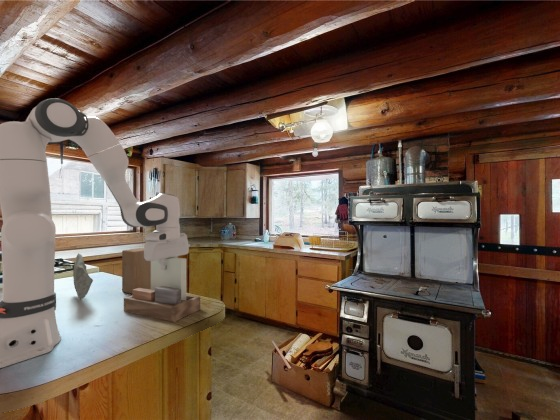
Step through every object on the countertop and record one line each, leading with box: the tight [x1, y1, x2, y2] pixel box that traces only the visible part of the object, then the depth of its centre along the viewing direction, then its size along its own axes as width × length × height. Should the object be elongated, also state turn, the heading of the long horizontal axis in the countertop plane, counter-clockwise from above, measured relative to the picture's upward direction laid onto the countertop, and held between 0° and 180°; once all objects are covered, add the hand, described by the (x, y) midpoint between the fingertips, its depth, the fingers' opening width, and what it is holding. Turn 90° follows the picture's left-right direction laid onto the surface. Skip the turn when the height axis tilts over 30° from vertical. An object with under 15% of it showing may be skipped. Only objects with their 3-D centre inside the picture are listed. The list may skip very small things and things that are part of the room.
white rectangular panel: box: [151, 257, 187, 300], centre depth 112 cm, size 3×16×20 cm, turn 66°
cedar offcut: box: [131, 288, 155, 302], centre depth 109 cm, size 3×10×8 cm, turn 66°
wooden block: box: [121, 247, 151, 294], centre depth 136 cm, size 10×10×20 cm
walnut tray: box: [123, 293, 201, 323], centre depth 109 cm, size 14×26×5 cm, turn 66°
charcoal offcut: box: [155, 286, 181, 306], centre depth 104 cm, size 3×10×10 cm, turn 66°
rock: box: [72, 252, 94, 301], centre depth 122 cm, size 27×6×20 cm, turn 42°
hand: (168, 268), depth 112 cm, fingers closed on white rectangular panel, 3 cm apart
